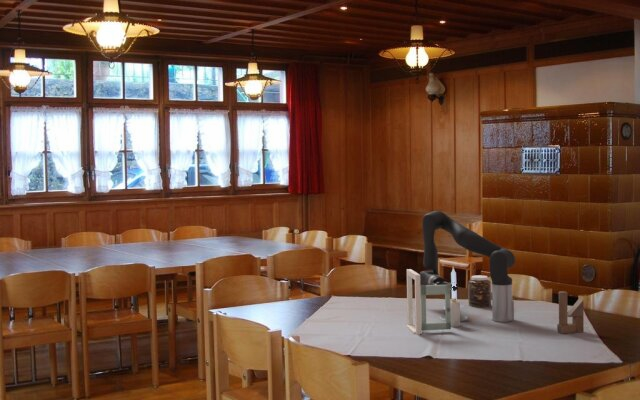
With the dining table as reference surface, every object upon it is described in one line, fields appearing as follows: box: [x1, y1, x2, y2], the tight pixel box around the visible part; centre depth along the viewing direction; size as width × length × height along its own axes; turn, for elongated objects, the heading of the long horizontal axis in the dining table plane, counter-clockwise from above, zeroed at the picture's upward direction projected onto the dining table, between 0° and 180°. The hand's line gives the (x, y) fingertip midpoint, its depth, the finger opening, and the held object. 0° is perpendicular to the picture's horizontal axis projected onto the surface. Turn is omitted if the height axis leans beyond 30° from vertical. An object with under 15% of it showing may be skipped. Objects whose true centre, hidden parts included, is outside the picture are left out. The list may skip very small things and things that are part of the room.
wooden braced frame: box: [556, 290, 585, 335], centre depth 340 cm, size 4×11×18 cm, turn 102°
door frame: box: [406, 268, 423, 336], centre depth 352 cm, size 4×18×26 cm, turn 6°
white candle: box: [450, 297, 461, 328], centre depth 359 cm, size 5×5×13 cm
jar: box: [467, 274, 492, 308], centre depth 405 cm, size 12×12×15 cm
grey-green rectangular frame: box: [420, 285, 451, 332], centre depth 346 cm, size 13×3×20 cm, turn 96°
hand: (446, 289), depth 371 cm, fingers open, 8 cm apart
